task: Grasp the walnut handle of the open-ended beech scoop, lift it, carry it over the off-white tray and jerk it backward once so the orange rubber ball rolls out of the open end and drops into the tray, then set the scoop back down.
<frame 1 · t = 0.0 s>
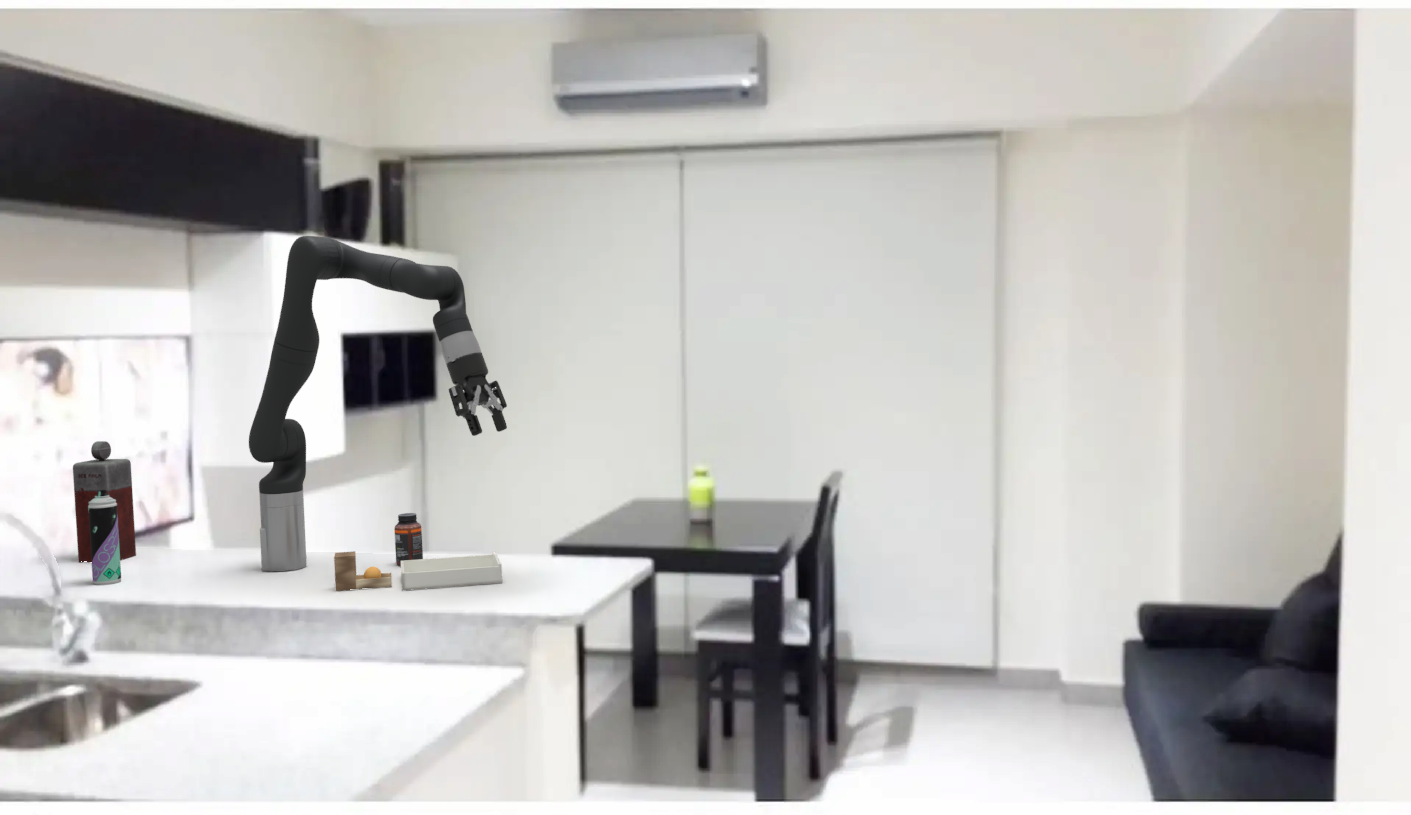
hand: (490, 432, 242), 31 cm above the worktop, tool tilted 20°, fingers open, 8 cm apart
red and grey canister: (103, 559, 284), on the worktop
tray: (450, 579, 251), on the worktop
scoop: (356, 587, 246), on the worktop, touching ball
supplement bottle: (409, 564, 269), on the worktop
ball: (372, 574, 247), point 2 cm above the worktop, touching scoop
spray can: (107, 583, 257), on the worktop
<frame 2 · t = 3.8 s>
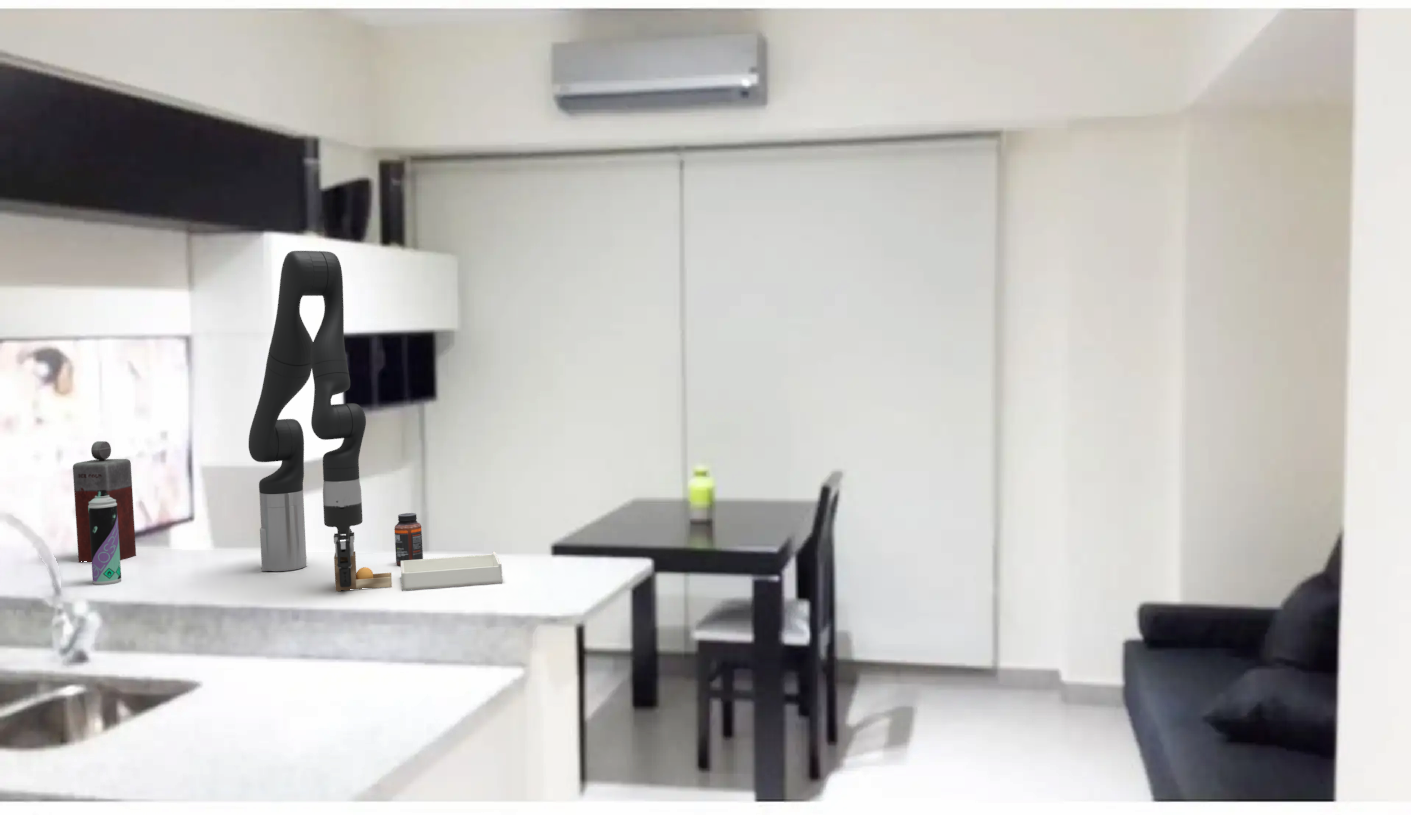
hand: (346, 583, 245), 1 cm above the worktop, tool pointing down, fingers closed on scoop, 5 cm apart
scoop: (356, 587, 246), on the worktop, touching ball, gripper
ball: (364, 575, 246), point 2 cm above the worktop, tilted 54°, touching scoop
everything else where it was.
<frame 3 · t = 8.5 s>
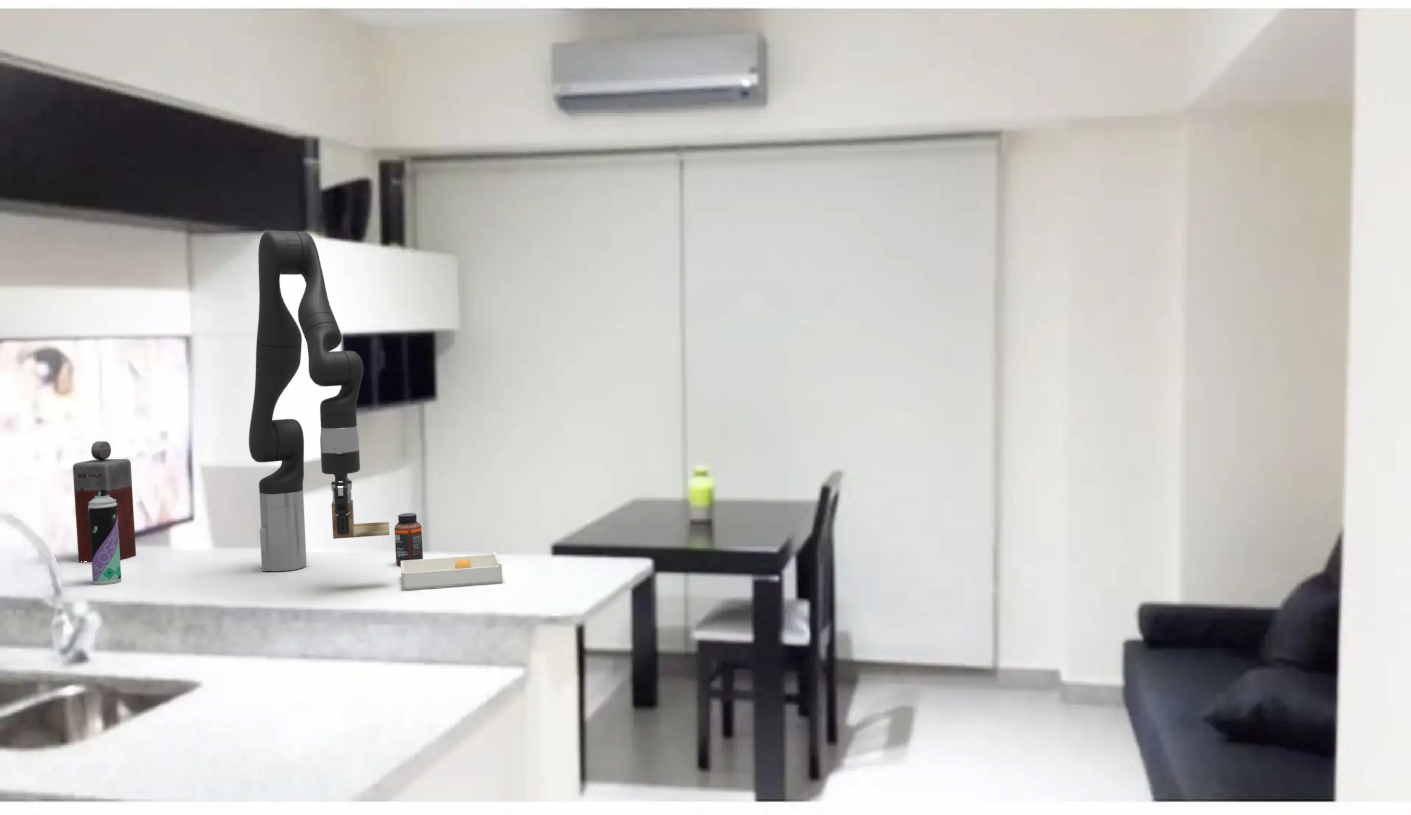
hand: (343, 531, 245), 12 cm above the worktop, tool pointing down, fingers closed on scoop, 5 cm apart
scoop: (354, 535, 245), point 11 cm above the worktop, touching gripper
ball: (463, 567, 253), point 2 cm above the worktop, tilted 82°, touching tray
everything else where it was.
when the fingers open (2 cm above the worktop, at t = 10.3 s): scoop stays where it is, on the worktop.
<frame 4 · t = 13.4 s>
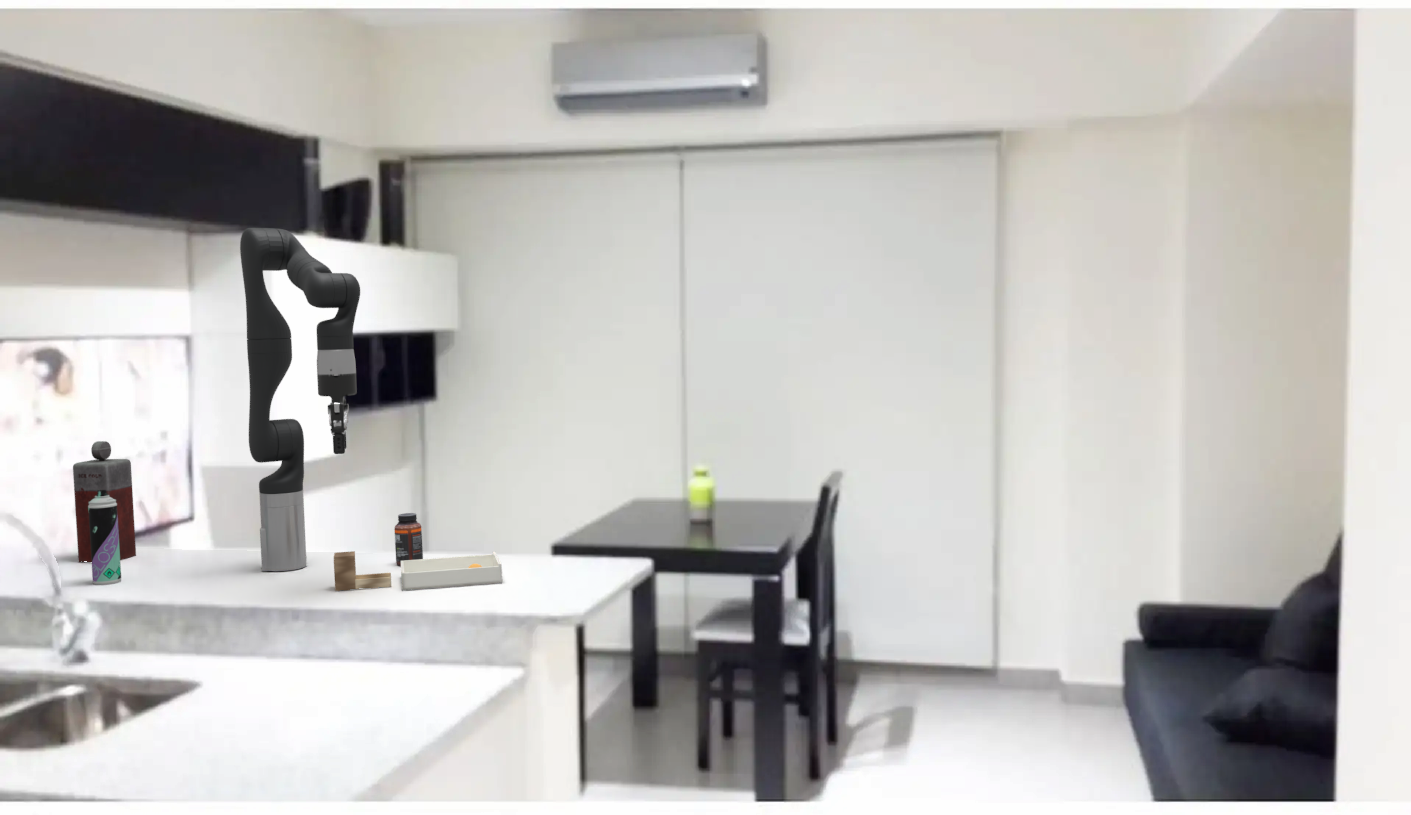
hand: (340, 451, 244), 28 cm above the worktop, tool pointing down, fingers open, 8 cm apart
scoop: (356, 587, 246), on the worktop
ball: (475, 571, 248), point 2 cm above the worktop, tilted 71°, touching tray
everything else where it was.
at the end: ball inside the target area on the tray (6.4 cm from its centre), point 2.2 cm above the tray's base; the gripper is holding nothing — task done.
